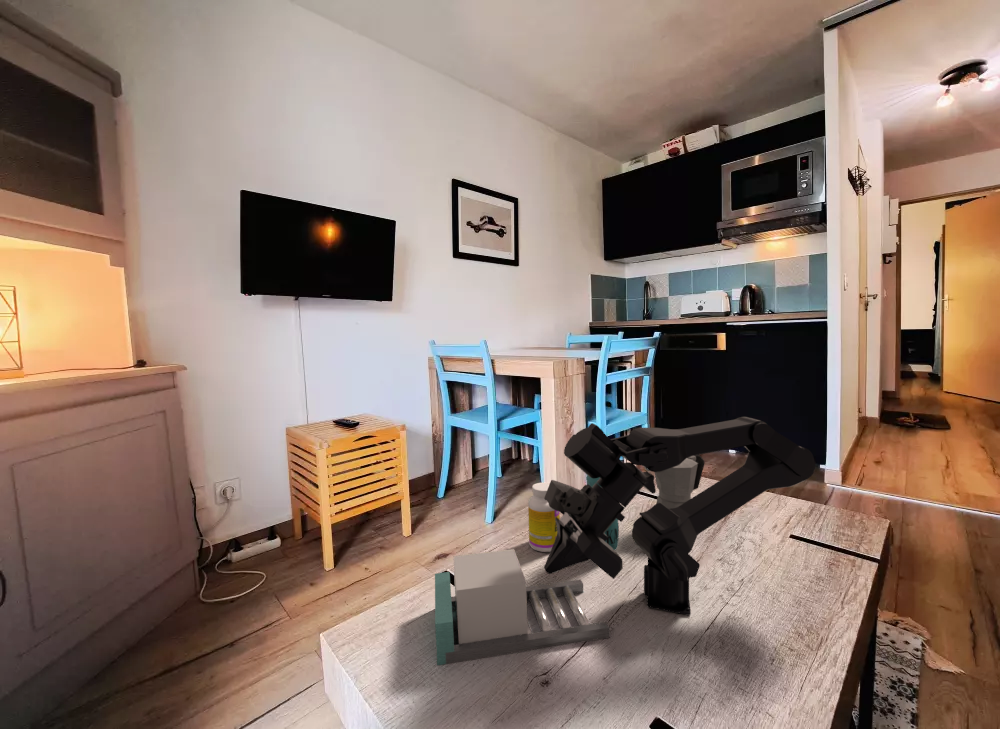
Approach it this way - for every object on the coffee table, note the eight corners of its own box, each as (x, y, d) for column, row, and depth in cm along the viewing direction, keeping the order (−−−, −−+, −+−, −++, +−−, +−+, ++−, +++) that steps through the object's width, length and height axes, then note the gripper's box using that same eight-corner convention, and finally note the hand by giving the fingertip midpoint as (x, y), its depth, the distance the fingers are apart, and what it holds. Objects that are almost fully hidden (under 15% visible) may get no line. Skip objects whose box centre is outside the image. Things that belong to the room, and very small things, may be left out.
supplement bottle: (559, 554, 83) (558, 493, 82) (527, 552, 84) (525, 491, 83) (561, 538, 90) (559, 481, 89) (531, 536, 91) (529, 480, 90)
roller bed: (436, 608, 68) (434, 573, 68) (580, 588, 72) (580, 555, 72) (437, 665, 56) (435, 624, 56) (609, 637, 60) (609, 599, 60)
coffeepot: (668, 541, 87) (668, 458, 86) (637, 522, 96) (637, 447, 94) (720, 526, 93) (721, 448, 91) (687, 509, 101) (687, 438, 100)
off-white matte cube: (515, 594, 68) (513, 549, 68) (527, 633, 59) (526, 581, 59) (455, 603, 67) (453, 556, 66) (458, 644, 58) (456, 590, 57)
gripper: (556, 447, 73) (499, 515, 72) (598, 485, 55) (521, 576, 54) (600, 485, 75) (544, 551, 74) (654, 534, 56) (581, 623, 56)
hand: (546, 571), depth 64 cm, fingers closed
